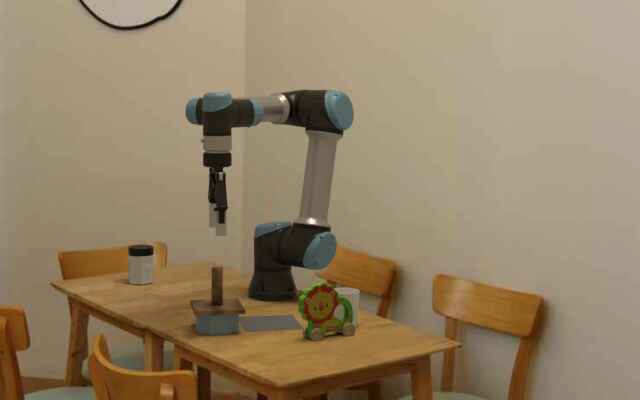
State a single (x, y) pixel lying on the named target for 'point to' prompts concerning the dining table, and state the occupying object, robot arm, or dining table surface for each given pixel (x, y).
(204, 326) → the bowl
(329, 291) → the toy lion
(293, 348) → the dining table surface
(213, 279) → the lid
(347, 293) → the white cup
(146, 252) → the jar
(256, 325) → the mat
